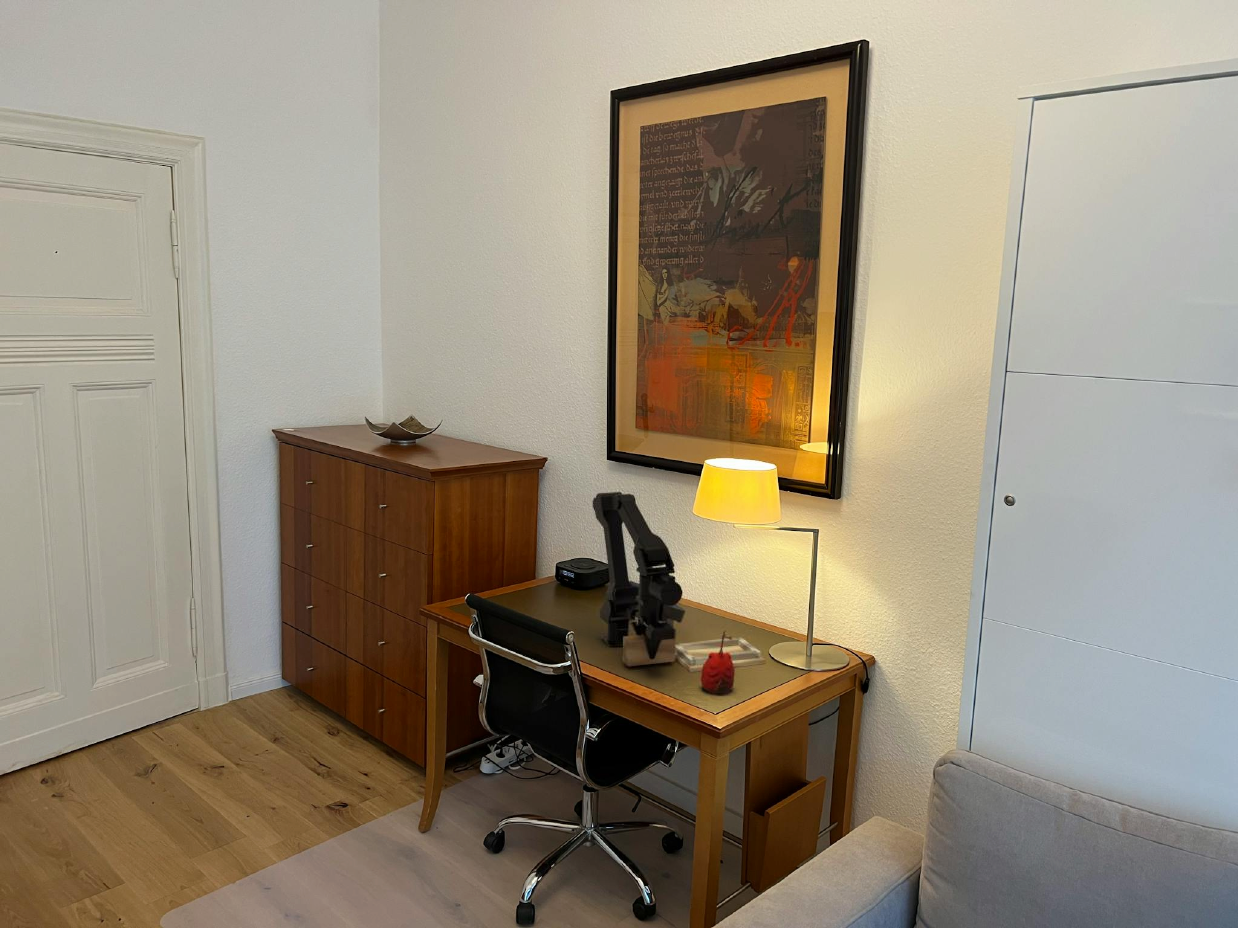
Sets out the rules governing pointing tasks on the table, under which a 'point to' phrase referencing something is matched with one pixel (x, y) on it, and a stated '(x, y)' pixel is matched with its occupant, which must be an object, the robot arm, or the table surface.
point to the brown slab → (638, 652)
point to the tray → (699, 652)
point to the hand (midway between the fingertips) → (648, 655)
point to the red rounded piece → (718, 671)
